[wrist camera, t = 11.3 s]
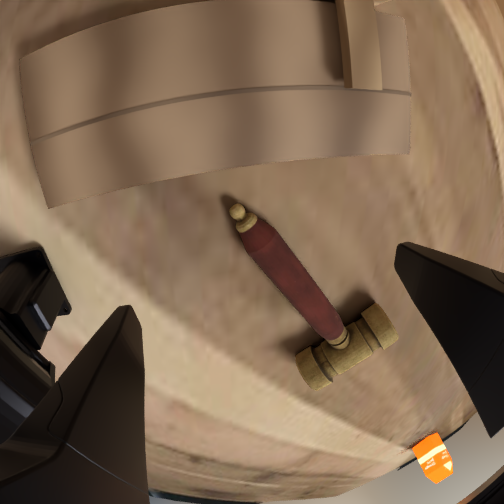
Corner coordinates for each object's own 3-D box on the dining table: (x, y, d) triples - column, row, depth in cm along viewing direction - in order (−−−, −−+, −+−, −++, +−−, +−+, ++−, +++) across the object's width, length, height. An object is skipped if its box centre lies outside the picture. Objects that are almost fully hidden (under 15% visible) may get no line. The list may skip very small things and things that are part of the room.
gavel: (172, 266, 18) (304, 167, 16) (178, 236, 22) (285, 155, 20) (321, 397, 27) (403, 345, 26) (310, 366, 31) (384, 318, 30)
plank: (62, 195, 17) (48, 209, 15) (37, 61, 12) (18, 59, 9) (389, 146, 19) (409, 154, 17) (384, 22, 14) (405, 18, 12)
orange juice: (437, 432, 77) (457, 469, 60) (421, 444, 80) (440, 480, 63) (427, 436, 74) (448, 475, 57) (411, 448, 78) (430, 487, 61)
